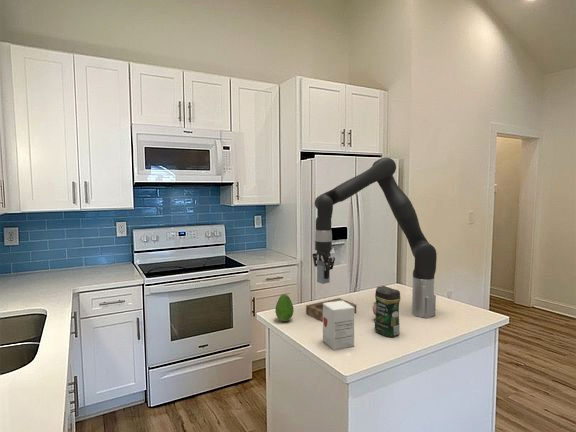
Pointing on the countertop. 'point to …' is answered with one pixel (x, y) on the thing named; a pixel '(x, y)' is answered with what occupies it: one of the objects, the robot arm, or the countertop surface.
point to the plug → (321, 273)
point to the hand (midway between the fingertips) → (323, 277)
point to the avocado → (284, 308)
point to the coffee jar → (387, 311)
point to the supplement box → (338, 324)
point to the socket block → (317, 308)
